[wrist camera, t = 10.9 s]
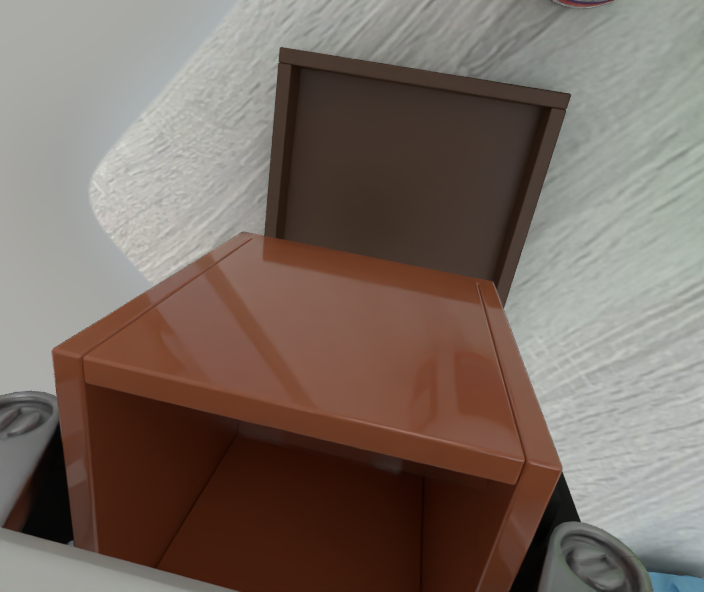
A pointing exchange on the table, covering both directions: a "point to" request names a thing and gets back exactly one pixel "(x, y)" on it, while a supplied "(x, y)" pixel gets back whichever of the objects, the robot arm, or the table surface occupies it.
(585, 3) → the pill bottle
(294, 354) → the terracotta tub
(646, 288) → the table surface
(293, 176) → the tray
